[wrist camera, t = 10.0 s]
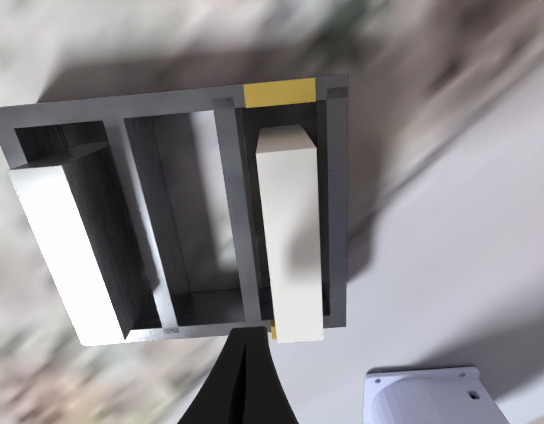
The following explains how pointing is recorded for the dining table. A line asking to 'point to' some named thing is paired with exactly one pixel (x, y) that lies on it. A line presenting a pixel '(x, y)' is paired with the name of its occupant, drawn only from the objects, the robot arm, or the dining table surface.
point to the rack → (163, 209)
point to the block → (291, 230)
